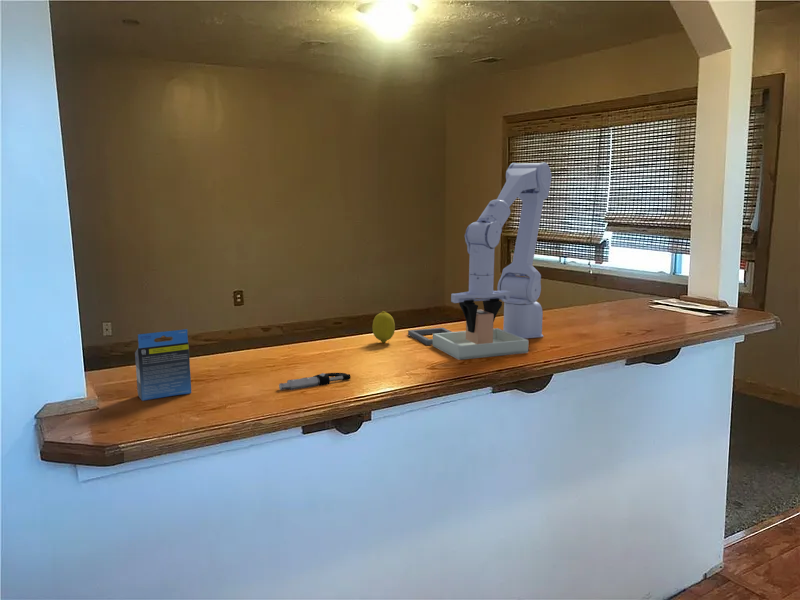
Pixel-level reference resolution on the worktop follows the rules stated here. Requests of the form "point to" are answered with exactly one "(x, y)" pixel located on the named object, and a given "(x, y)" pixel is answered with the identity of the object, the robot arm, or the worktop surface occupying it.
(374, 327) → the lemon
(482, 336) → the block
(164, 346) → the label tape cartridge
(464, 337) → the parts tray
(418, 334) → the frame
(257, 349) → the worktop surface
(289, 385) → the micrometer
